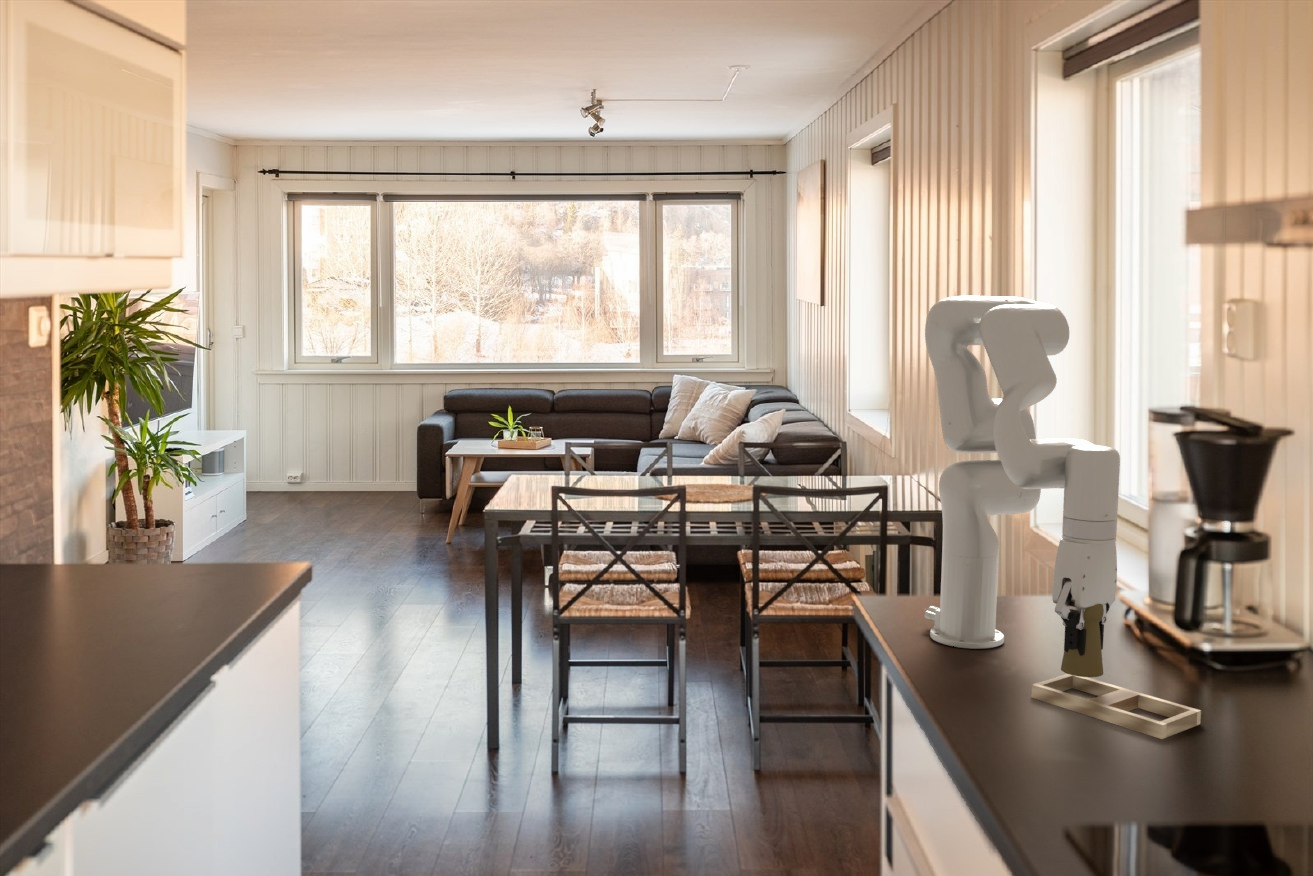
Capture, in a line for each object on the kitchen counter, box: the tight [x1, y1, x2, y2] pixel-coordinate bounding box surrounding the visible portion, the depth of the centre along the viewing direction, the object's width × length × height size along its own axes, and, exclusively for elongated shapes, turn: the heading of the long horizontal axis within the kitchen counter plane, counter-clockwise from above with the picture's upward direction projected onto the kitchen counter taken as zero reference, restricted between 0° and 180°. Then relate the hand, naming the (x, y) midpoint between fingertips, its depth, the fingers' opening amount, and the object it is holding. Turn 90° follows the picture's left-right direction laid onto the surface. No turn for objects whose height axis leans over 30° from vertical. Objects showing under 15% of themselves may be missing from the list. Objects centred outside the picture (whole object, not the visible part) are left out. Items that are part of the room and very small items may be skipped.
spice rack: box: [1030, 673, 1202, 740], centre depth 175 cm, size 21×10×2 cm, turn 37°
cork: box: [1060, 602, 1104, 678], centre depth 179 cm, size 6×6×11 cm
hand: (1083, 649), depth 179 cm, fingers closed on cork, 3 cm apart
